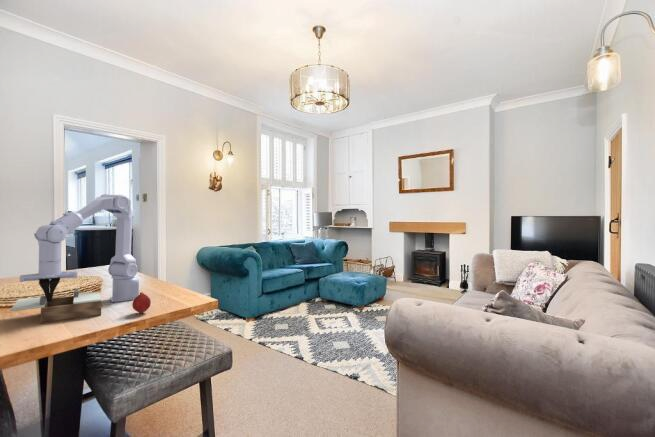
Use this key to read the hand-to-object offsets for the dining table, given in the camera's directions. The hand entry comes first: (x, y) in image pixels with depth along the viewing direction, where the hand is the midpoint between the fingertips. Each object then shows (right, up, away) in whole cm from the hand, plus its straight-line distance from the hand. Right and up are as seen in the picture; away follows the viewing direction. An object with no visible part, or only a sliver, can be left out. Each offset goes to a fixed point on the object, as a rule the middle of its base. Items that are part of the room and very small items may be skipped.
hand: (49, 300), depth 107 cm
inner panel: (+6, -1, +9) cm, 11 cm away
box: (+3, -6, +6) cm, 9 cm away
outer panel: (-6, -1, -1) cm, 6 cm away
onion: (+25, -7, +10) cm, 28 cm away
